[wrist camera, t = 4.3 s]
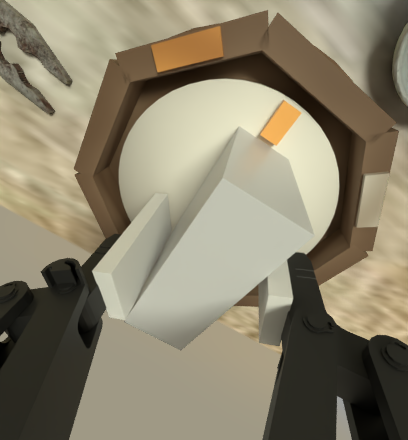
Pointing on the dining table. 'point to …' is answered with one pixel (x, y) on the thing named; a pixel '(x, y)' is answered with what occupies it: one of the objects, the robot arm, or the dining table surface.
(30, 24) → the pliers
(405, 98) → the ceramic mug
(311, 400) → the robot arm
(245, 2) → the dining table surface
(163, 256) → the dial
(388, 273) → the dining table surface
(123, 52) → the dial housing
